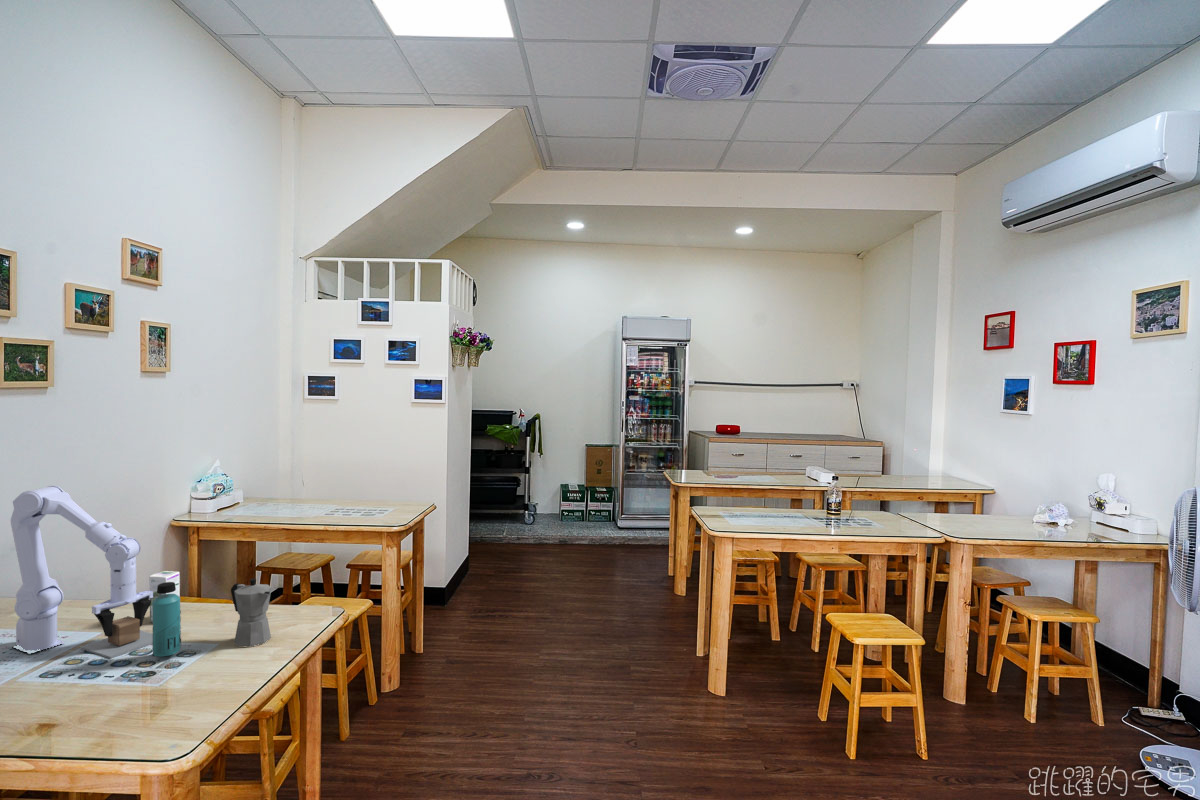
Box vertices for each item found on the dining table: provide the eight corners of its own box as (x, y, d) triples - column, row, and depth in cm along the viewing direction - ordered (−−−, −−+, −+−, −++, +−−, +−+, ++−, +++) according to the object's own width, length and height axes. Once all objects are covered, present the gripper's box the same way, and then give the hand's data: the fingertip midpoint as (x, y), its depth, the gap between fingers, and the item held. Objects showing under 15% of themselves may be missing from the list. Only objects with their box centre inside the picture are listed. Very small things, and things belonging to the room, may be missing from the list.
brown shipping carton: (108, 642, 173) (107, 622, 173) (128, 635, 178) (128, 616, 177) (119, 645, 171) (119, 625, 171) (139, 638, 176) (139, 619, 175)
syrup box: (180, 616, 195) (180, 570, 194) (165, 623, 189) (165, 576, 189) (163, 615, 195) (163, 569, 195) (148, 622, 190) (148, 575, 189)
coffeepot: (283, 638, 180) (283, 577, 179) (253, 651, 171) (254, 587, 170) (246, 629, 186) (246, 570, 185) (216, 641, 177) (216, 579, 177)
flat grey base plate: (80, 648, 171) (80, 627, 171) (135, 630, 184) (135, 610, 183) (110, 658, 165) (110, 636, 165) (165, 639, 178) (165, 618, 178)
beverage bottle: (166, 663, 163) (166, 588, 162) (145, 660, 164) (145, 586, 164) (187, 653, 169) (187, 580, 169) (167, 650, 171) (167, 578, 170)
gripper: (102, 592, 166) (102, 643, 166) (159, 577, 179) (159, 624, 179) (87, 589, 168) (87, 638, 169) (144, 574, 182) (144, 620, 182)
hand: (123, 630), depth 174 cm, fingers open, 7 cm apart
